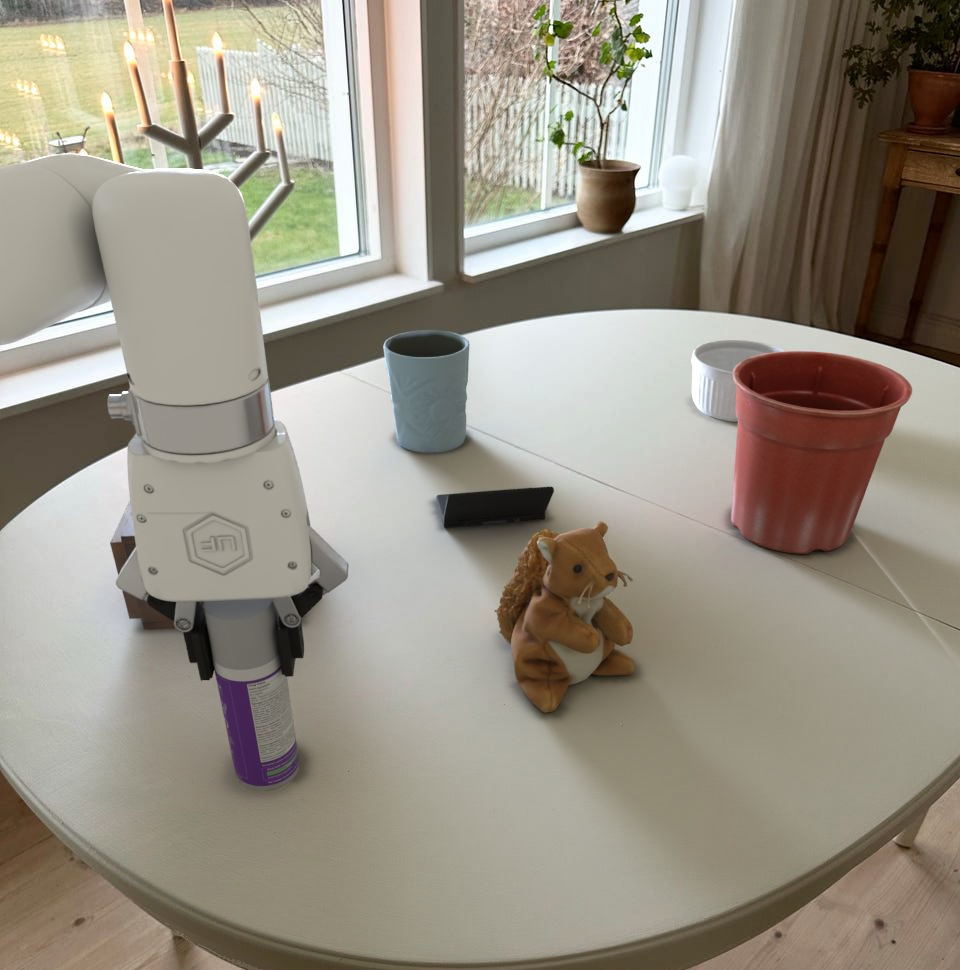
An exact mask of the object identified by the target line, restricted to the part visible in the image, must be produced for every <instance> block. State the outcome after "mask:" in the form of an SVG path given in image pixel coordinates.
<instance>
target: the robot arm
mask: <svg viewBox="0 0 960 970" xmlns="http://www.w3.org/2000/svg"><path fill="white" fill-rule="evenodd" d="M250 232H251V231H250V223H249V217H248V213H247V207H246V202H245V200H244V198H243V195H242V192H241V191H240V189H239V187H237V185H236V184H235V182H233V181H232V180H230V179H229V178H227V176H225V175H223V174H220V173H218V172H217V173H216V172H214V171H209V170H204V169H195V168H155V169H142V168H138V167H135V166H130V165H126V164H124V163H119V162H116V161H112V160H109V159H105V158H101V157H97V156H93V155H88V154H82V153H57V154H50V155H45V156H42V157H38V158H37V157H36V158H33V159H29V160H27V161H23V162H18V163H10V164H7V165H3V166H0V346H4V345H9V344H13V343H16V342H18V341H21V340H24V339H25V338H28V337H30V336H32V335H35V334H36V333H37V334H38V332H41V331H43V330H45V329H47V328H49V327H51V326H53V325H55V324H58V323H59V322H61V321H63V320H65V319H68V318H69V317H70V316H73V315H75V314H77V313H80V312H84V311H87V310H90V309H92V308H95V307H98V306H102V305H105V304H107V303H109V302H110V303H111V308H112V312H113V316H114V319H115V320H114V321H115V325H116V329H117V334H118V339H119V343H120V348H121V352H122V357H123V362H124V365H125V371H126V375H127V379H128V384H129V388H128V389H127V391H122V392H121V393H120V394H109V395H108V396H107V402H106V403H107V410H108V415H109V417H110V418H111V419H112V420H117V419H118V420H119V419H123V420H124V421H125V422H126V421H127V422H129V421H130V422H131V424H132V426H133V427H134V429H135V434H134V435H133V437H132V438H131V439H130V440H129V442H128V443H127V455H126V457H127V460H126V461H127V462H126V463H127V464H126V465H127V484H128V485H127V486H128V494H129V495H128V496H129V501H130V505H131V513H132V521H133V529H134V536H135V543H136V547H135V549H134V550H133V552H132V553H131V555H130V556H129V558H128V560H127V561H126V563H125V564H124V566H123V567H122V569H121V571H120V573H119V575H118V574H117V577H116V581H115V586H116V587H117V588H118V589H119V590H121V591H122V590H123V591H125V592H127V593H129V594H131V595H133V596H135V597H136V598H138V599H140V600H145V601H147V603H148V604H149V606H151V607H152V608H153V609H155V610H157V611H158V612H160V613H161V614H163V615H164V616H166V617H167V618H169V619H170V620H172V621H173V622H174V626H175V628H176V630H177V631H179V632H181V633H182V634H183V640H184V644H185V648H186V652H187V657H188V662H189V663H190V664H196V665H197V670H198V674H199V678H200V679H199V680H200V681H201V682H203V681H210V680H211V679H213V677H214V675H215V671H214V665H213V659H212V653H211V647H210V641H209V635H208V629H207V623H206V617H205V611H204V606H202V605H201V604H200V601H223V600H248V599H268V598H271V599H272V601H273V603H274V606H275V608H276V610H277V612H278V618H277V624H276V639H277V645H278V652H279V659H280V665H281V672H282V675H285V677H287V678H288V677H289V678H290V677H294V674H295V673H294V672H295V665H296V659H304V656H305V640H304V632H303V624H302V618H304V617H305V616H306V615H307V614H308V613H309V612H310V611H311V610H312V609H313V608H314V607H315V606H316V605H317V604H319V602H320V601H321V600H322V599H323V597H324V596H325V595H326V594H328V593H331V592H332V591H333V590H335V589H336V588H337V587H339V586H341V584H343V583H344V582H346V580H348V577H349V567H350V566H349V563H348V562H347V561H346V559H345V558H343V556H342V555H341V554H339V553H338V552H337V550H335V549H334V548H333V547H332V546H331V545H330V544H329V543H328V542H327V541H326V540H325V539H324V538H323V537H322V536H321V535H320V534H319V533H318V532H317V531H316V530H315V529H314V528H313V527H312V526H311V520H310V515H309V510H308V504H307V499H306V495H305V493H306V492H305V489H304V485H303V480H302V476H301V472H300V471H301V470H300V469H299V468H300V467H299V463H298V460H297V458H296V453H295V450H294V448H293V443H292V442H291V438H290V435H289V433H288V429H287V428H286V425H285V424H284V423H283V422H282V421H280V420H278V419H277V420H276V419H275V417H274V416H275V415H274V407H273V402H272V392H271V387H270V386H271V385H270V379H269V374H268V373H269V372H268V364H267V358H266V349H265V341H264V333H263V331H264V330H263V325H262V324H263V323H262V317H261V308H260V300H259V294H258V286H257V285H258V284H257V278H256V270H255V263H254V257H253V256H254V255H253V248H252V239H251V233H250ZM292 565H293V566H292ZM312 565H314V566H315V567H316V569H317V570H316V572H315V573H312ZM152 569H153V570H152ZM154 570H155V571H154ZM123 591H122V592H123Z"/></svg>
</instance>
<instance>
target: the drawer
mask: <svg viewBox="0 0 960 970" xmlns="http://www.w3.org/2000/svg"><path fill="white" fill-rule="evenodd" d="M130 515H131V505H130V500H128V504H127V505H126V508H125V510H124V512H123V514H122V516H121V517H120V520H119V523H118V524H117V527H116V530H115V531H114V534H113V536H112V537H111V539H110V542H109V543H110V549H111V552H112V557H113V560H114V564H115V567H116V572H117V576H118V575H119V573H120V571H121V569H122V567H123V566H124V564H125V563H126V561H127V560H126V556H125V552H124V548H123V544H122V540H121V535H122V532H123V530H124V528H125V526H126V524H127V521H128V519H129V517H130ZM121 591H122V595H123V599H124V602H125V603H124V604H125V607H126V610H127V614H128V615H127V616H128V618H129V619H130V620H132V619H134V620H135V619H136V620H137V619H141V616H140V612H139V608H138V604H137V600H136V597H135V596H133V595H131V594H129V593H127V592H125V591H123V590H121Z"/></svg>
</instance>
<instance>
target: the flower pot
mask: <svg viewBox="0 0 960 970" xmlns="http://www.w3.org/2000/svg"><path fill="white" fill-rule="evenodd" d="M733 380H734V383H735V385H736V386H737V393H736V409H735V412H736V416H737V418H738V422H737V427H736V443H735V456H734V459H735V460H734V468H733V469H734V470H733V484H732V498H731V499H732V500H731V513H730V521H731V524H732V526H733V527H735V528H737V529H738V531H739V532H740V534H741V536H742V537H743V538H744V539H746V540H747V541H749V542H752V543H754V544H755V545H758V546H761V547H763V548H766V549H769V550H773V551H777V552H782V553H788V554H799V555H800V554H801V555H808V554H809V553H811V552H813V551H815V550H816V551H817V550H822V551H823V552H830V551H833V550H836V549H838V548H840V547H841V546H843V545H844V544H845V543H846V542H847V541H848V540H849V538H850V536H851V533H852V530H853V528H854V524H855V522H856V520H857V516H858V514H859V512H860V511H859V510H860V509H861V505H862V503H863V500H864V497H865V495H866V492H867V489H868V487H869V484H870V481H871V479H872V476H873V473H874V470H875V467H876V465H877V463H878V459H879V456H880V454H881V451H882V449H883V447H884V443H885V441H886V439H887V438H888V437H889V436H890V435H891V433H892V432H893V429H894V426H895V425H896V421H897V419H898V416H899V413H900V411H901V408H902V407H903V406H904V405H905V404H907V403H908V402H909V400H910V398H911V396H912V395H913V387H912V385H911V383H910V382H909V380H908V379H907V378H906V377H905V376H903V375H902V374H901V373H899V372H897V371H895V370H894V369H892V368H890V367H887V366H885V365H882V364H879V363H876V362H874V361H870V360H867V359H863V358H860V357H855V356H852V355H846V354H841V353H840V354H839V353H834V352H827V351H826V352H825V351H812V350H810V351H809V350H785V351H783V352H773V353H767V354H761V355H757V356H753V357H750V358H747V359H745V360H743V361H741V362H740V363H739V364H737V365H736V367H735V368H734V370H733Z"/></svg>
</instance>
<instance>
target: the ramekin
mask: <svg viewBox="0 0 960 970" xmlns="http://www.w3.org/2000/svg"><path fill="white" fill-rule="evenodd" d="M783 351H786V350H785V349H784V348H781V347H778V346H775V345H772V344H769V343H764V342H759V341H755V340H754V341H753V340H747V339H746V340H745V339H721V340H720V339H718V340H713V341H708V342H705V343H701V344H699V345H698V346H696V348H694V350H693V352H692V356H691V365H692V377H691V397H692V401H693V402H694V404H695V406H696V407H697V409H698V410H699V411H700V412H701V413H703V414H704V415H706V416H708V417H711V418H714V419H716V420H720V421H725V422H731V423H738V418H737V416H736V412H735V409H736V393H737V386H736V385H735V383H734V380H733V370H734V368H735V367H736V365H737V364H739V363H740V362H741V361H743V360H745V359H747V358H750V357H753V356H757V355H761V354H767V353H773V352H783Z"/></svg>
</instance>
